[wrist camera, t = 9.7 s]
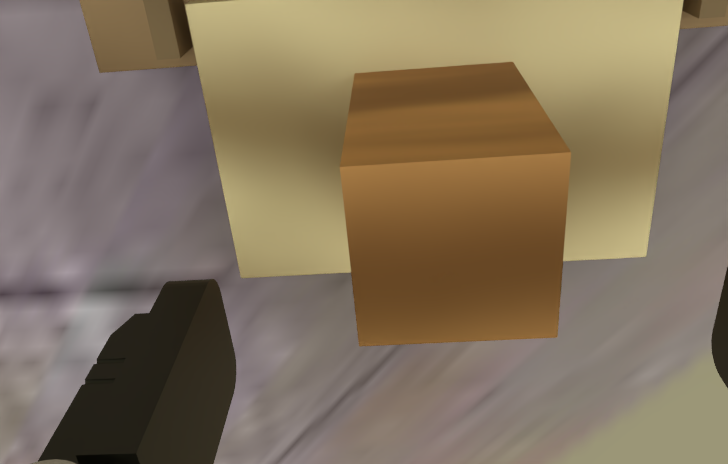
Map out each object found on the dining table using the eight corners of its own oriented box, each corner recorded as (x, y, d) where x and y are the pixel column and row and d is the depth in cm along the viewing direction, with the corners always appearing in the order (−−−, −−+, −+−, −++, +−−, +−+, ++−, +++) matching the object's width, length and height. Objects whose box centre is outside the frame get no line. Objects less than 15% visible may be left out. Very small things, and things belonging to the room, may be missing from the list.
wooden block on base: (193, -2, 17) (87, 70, 11) (675, -41, 16) (846, 13, 10) (246, 264, 21) (189, 424, 15) (636, 243, 20) (743, 403, 14)
